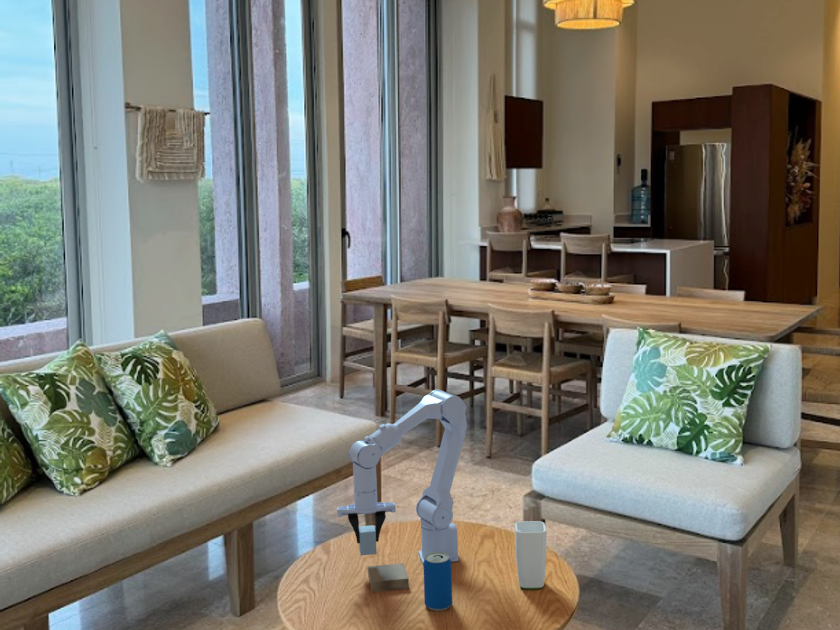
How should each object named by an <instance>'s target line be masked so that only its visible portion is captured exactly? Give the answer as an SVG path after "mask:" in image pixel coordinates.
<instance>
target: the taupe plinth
mask: <svg viewBox="0 0 840 630" xmlns="http://www.w3.org/2000/svg"><path fill="white" fill-rule="evenodd" d="M367 570H368V572H367V573H368V581H369V585H370V589H371V593H375V592H376V593H377V592H378V593H379V592H388V591H399V590H407V589H409V588H410V584H409V582H410V581H409V576H408V574H407V570H406V567H405V564H404V563H403V562H402V563H394V564H393V563H391V564H381V565H380V564H379V565H369V566H367Z"/></svg>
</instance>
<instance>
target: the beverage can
mask: <svg viewBox="0 0 840 630" xmlns="http://www.w3.org/2000/svg"><path fill="white" fill-rule="evenodd" d="M422 565H423V593H424V595H423V596H424V600H423V601H424V606H426V607H427V608H428V609H429V610H431V611H437V612H439V611H440V612H441V611H445V610H447V609H448V608H450V607H451V606H452V605H453V582H452V581H453V580H452V578H453V573H452V562H451V560H450V559H449V555H448V554H446V553H442V552H433V553H429V554H427V555H426V556H425V560H424V562H423V563H422Z"/></svg>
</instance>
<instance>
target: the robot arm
mask: <svg viewBox="0 0 840 630" xmlns="http://www.w3.org/2000/svg"><path fill="white" fill-rule="evenodd" d="M467 407H468V406H467V404H465V402H464V401H463V399H462V398H461V397H460V396H458V395H455V394H454V395H453V394H451V393H449V392H446V391H444V390H441V389H434V390H432V391H431V392H429V394H427V395H424V396H423V398H422V399H421V400H420V402H419V403H417V404H416V405H415V406H413V407H412V408H411V409H410V410H409V411H408V412H406V413H405V414H404V415H403V416H402V417H400V418H399V419H398V420H397V421H396V422H394V423H389V422H388V423H385V424H384V423H382V424H381V425H379V427H378V429H377V430H376V431H374V432H373V433H371V434H370V435H366V436H365V437H364V438H363V440H358V441H355V442H354V443H353V444H352V445H351V447H350V449H349V451H348V453H347V455H348V458H349V459H350V461H351V462H352V474H353V479H352V480H353V496H354V503H353V504H348V505H344V506H337V507H336V513H337V514H336V515H337V518H342V517H343V516H347V518H348V521H349V523H350V525H351V528H352V529H353V531H354V534H355V537H356V543H357V544H359V543H360V536H359V524H360V523H359V522H360V521H359V515H365V514H366V515H367V514H374V527H375V531H376V543H377V542H379V540H380V539H379V538H380V535H381V534H380V533H381V529H382V526H383V525H384V522H385V520H386V518H387V517H386V513H389V512H390V513H396V503H395V502H380V501H379V502H378V486H377V485H378V484H377V482H378V481H377V480H378V479H377V465H378V464H379V461H380V459H381V457H382V456H383V455H384V454H385V453H387V452H388V451H390V450H391V449H392V448H394V447H396V446H397V445H398V444H399V443H400V442H401V441H402V436H403V435H404V434H405V433H407V432H408V431H410V430H411V429H413V428H415V427H416V426H418V425H420V424H421V423H422V422H424V421H426V420H427V419H429V420H431V419H432V420H433V419H434V420H439V421H440V423H441V425H442V426H443V428H444V430H443V431H444V432H443V435H442V438H441V442H440V446H439V450H438V454H437V458H436V461H435V465H434V469H433V472H432V475H431V476H432V477H431V481H430V484H429V486H427V487H426V488H425V489H424V490H423V491H422V495H421V497H420V498H419V500H418V501H417V503H416V506H415V511H416V514H417V516H418V517H419V518H420V534H421V535H420V537H421V539H420V541H421V550H420V549H419V550H418V555H419V557H420V560H421V563H422V564H423V562H424V560H425V556H426V555H427V554H429V553H433V552H442V553H446V554H448V555H449V559H450V560H451V563H452V562H458V561H459V559H460V558H459V540H458V539H459V536H458V528H457V524H456V523H454V522H453V518H454V512H453V506H454V500H453V496H452V494H451V489H452V485H453V482H454V479H455V478H454V477H455V473H456V470H457V467H458V462H459V459H460V455H461V452H462V451H461V450H462V448H463V443H464V440H465V436H466V433H467V428H468V423H467V416H466V411H467V409H468V408H467Z"/></svg>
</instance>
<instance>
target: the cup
mask: <svg viewBox="0 0 840 630" xmlns="http://www.w3.org/2000/svg"><path fill="white" fill-rule="evenodd" d="M514 540H515V541H514V543H515V545H514V546H515V558H516V569H517V570H516V571H517V577H518V583H519V587H521V588H522V589H529V590H531V589H534V590H537V589H541V588H543V587H544V585H545V577H546V569H547V567H546V566H547V527H546V523H545V522H543V521H539V520H536V521H535V520H534V521H533V520H529V521H528V520H526V521H525V520H523V521H522V520H521V521H517V522H515V524H514Z"/></svg>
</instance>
